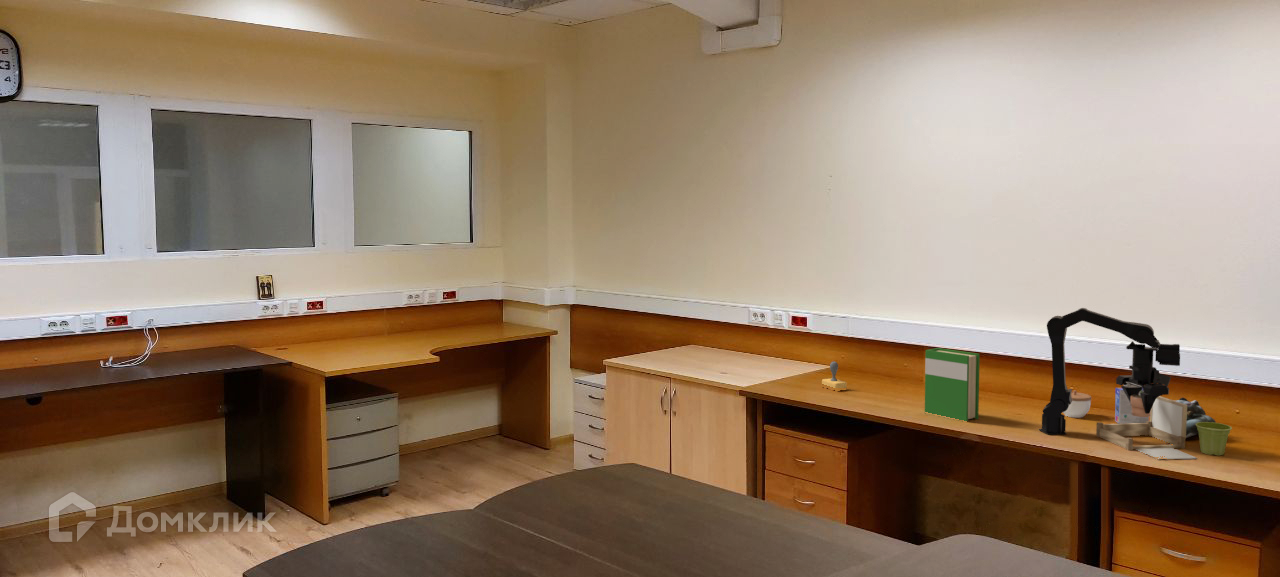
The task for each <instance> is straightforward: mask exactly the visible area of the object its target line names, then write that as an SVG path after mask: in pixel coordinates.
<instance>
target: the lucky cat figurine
mask: <svg viewBox="0 0 1280 577" xmlns="http://www.w3.org/2000/svg"><path fill="white" fill-rule="evenodd" d="M1174 401H1176V402H1179V403H1183V404H1186V405H1187V423H1186V439H1187V438H1191V437H1193V436H1197V435H1199V432H1198V430H1197V426H1196V423H1198V422H1214V423H1217V421H1216V420H1215V419H1214V418H1213V417H1211V416H1209V415H1207V413H1206V411H1205V410H1204V408H1203V407H1202V406H1200V403H1199V401H1197V400H1195V399H1194V400H1192V401H1189V399H1187V398H1185V397H1180V398H1179V399H1178V400H1174Z"/></svg>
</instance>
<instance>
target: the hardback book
mask: <svg viewBox="0 0 1280 577" xmlns="http://www.w3.org/2000/svg"><path fill="white" fill-rule="evenodd" d="M980 357H981V356H980V353H975V352H968V351H961V350H957V349H956V350H955V349H954V350H953V349H947V348H940V347H937V348H930V349H925V359H924V360H925V364H924V365H925V368H924V369H925V370H924V371H925V372H924V376H925V377H924V413H925V412H928V413H932V414H937V415H941V416H946V417H950V418H955V419H959V420H964V421H968V422H969V420H970V419H973V418H976V419H975V420H979V409H980V407H979V406H980V405H979V403H980V399H979V398H980V362H981V360H980ZM959 420H958V421H959Z"/></svg>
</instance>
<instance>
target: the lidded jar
mask: <svg viewBox="0 0 1280 577" xmlns="http://www.w3.org/2000/svg"><path fill="white" fill-rule="evenodd" d="M1071 397H1072V400H1073V401H1072V402H1071V404H1070V405H1069V407H1068V409H1067V410H1066V411H1065V412H1062V414H1063V415H1065V417H1067V416H1068V418H1074V419H1075V418H1076V419H1081V418H1084V416H1086V415H1087V414H1088V412H1089V411H1090V408H1091V405H1092V403H1091V402H1092V396H1091V395H1090V394H1087V393H1083V392H1077V390H1072V393H1071Z"/></svg>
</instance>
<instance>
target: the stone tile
mask: <svg viewBox="0 0 1280 577" xmlns="http://www.w3.org/2000/svg"><path fill="white" fill-rule="evenodd" d="M1136 450H1138V451H1140V452H1139V453H1141V452H1143V453H1145V454H1148V455H1150V456H1153V457H1159V458H1161V457H1162V456H1163V458H1167V459H1182V460H1197V459H1198V458H1197V457H1196V456H1193V455H1191V454H1188V453H1186V452H1183V451H1181V450H1180V449H1178V448H1177V449H1174V448H1152V449H1136ZM1136 450H1135V451H1136ZM1138 451H1137V452H1138ZM1143 453H1142V454H1143ZM1145 454H1144V455H1145ZM1148 455H1147V456H1148ZM1150 456H1149V457H1150ZM1160 456H1161V457H1160ZM1164 456H1165V457H1164ZM1159 458H1158V459H1159Z"/></svg>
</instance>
